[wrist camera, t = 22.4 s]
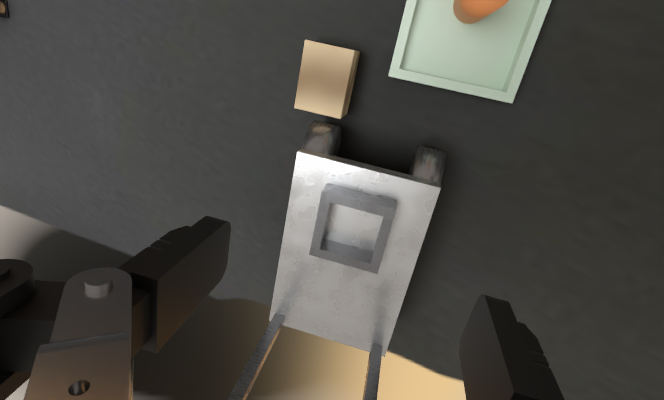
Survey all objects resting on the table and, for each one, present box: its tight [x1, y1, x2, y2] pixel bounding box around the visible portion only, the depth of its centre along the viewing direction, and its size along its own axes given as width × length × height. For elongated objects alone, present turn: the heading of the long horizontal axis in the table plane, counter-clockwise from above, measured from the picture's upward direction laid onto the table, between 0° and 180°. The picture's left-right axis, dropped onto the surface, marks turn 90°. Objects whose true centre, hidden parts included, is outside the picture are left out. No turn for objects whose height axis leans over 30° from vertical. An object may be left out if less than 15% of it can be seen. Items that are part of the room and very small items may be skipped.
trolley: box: [228, 121, 446, 400], centre depth 32 cm, size 22×12×22 cm, turn 169°
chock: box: [294, 40, 360, 119], centre depth 35 cm, size 6×4×4 cm
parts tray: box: [388, 0, 551, 103], centre depth 31 cm, size 14×11×2 cm
